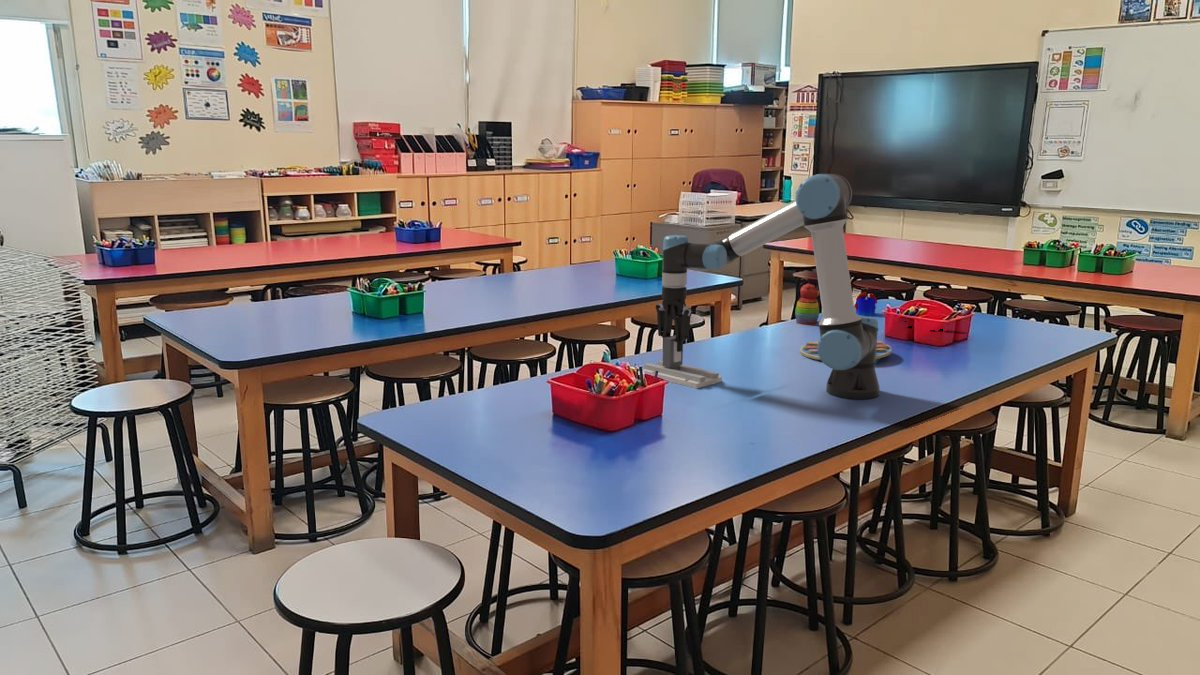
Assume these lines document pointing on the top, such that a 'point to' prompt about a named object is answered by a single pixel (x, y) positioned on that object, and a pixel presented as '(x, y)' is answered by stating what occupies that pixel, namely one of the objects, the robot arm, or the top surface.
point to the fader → (670, 353)
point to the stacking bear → (807, 306)
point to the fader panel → (686, 383)
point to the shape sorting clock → (812, 352)
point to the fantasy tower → (865, 304)
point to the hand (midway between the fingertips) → (672, 360)
